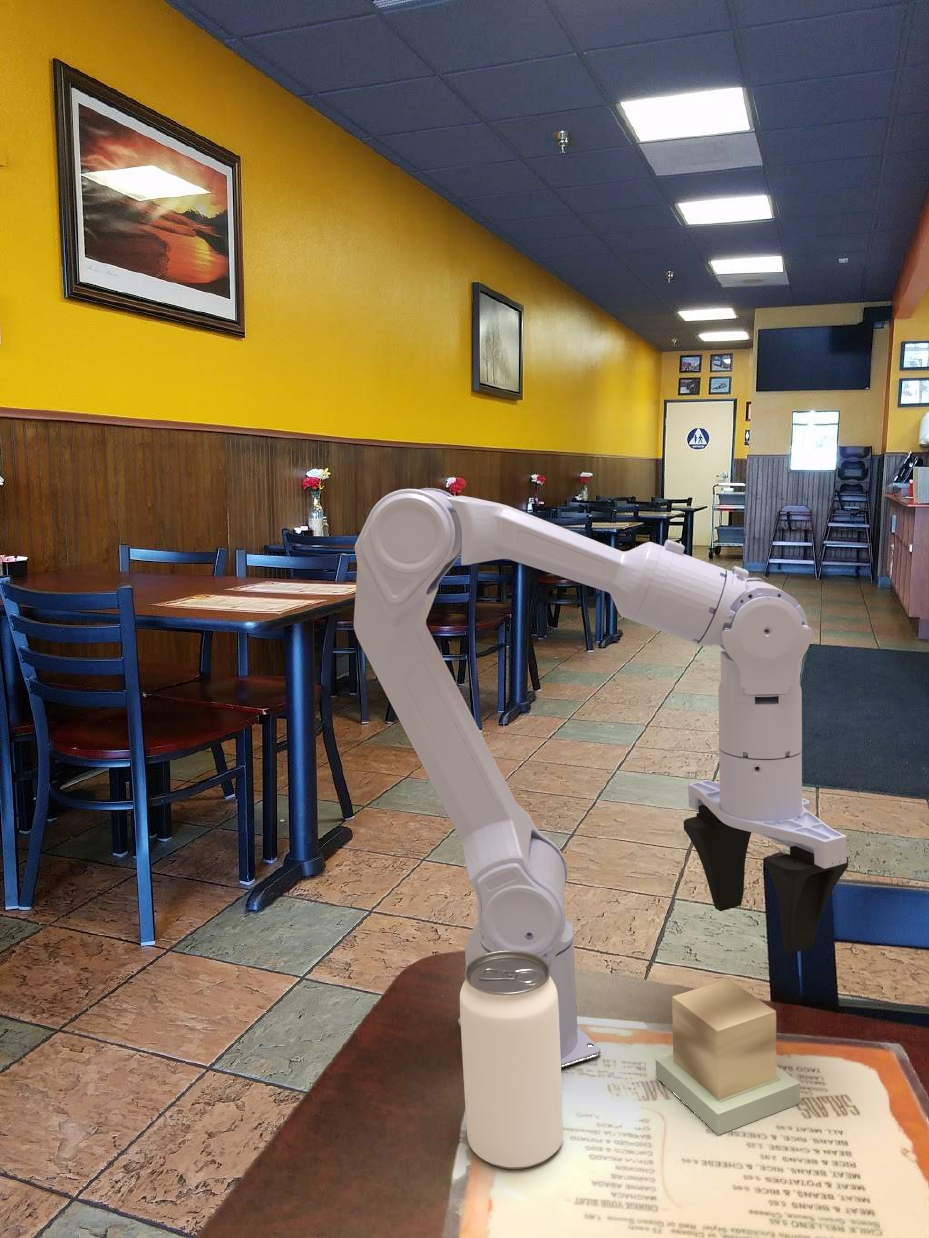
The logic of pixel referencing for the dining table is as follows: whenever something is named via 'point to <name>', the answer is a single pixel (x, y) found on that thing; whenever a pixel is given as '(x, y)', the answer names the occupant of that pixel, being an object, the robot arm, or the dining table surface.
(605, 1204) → the dining table surface
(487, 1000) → the can
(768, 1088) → the base
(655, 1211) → the dining table surface
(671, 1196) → the dining table surface
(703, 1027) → the block
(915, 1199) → the dining table surface
